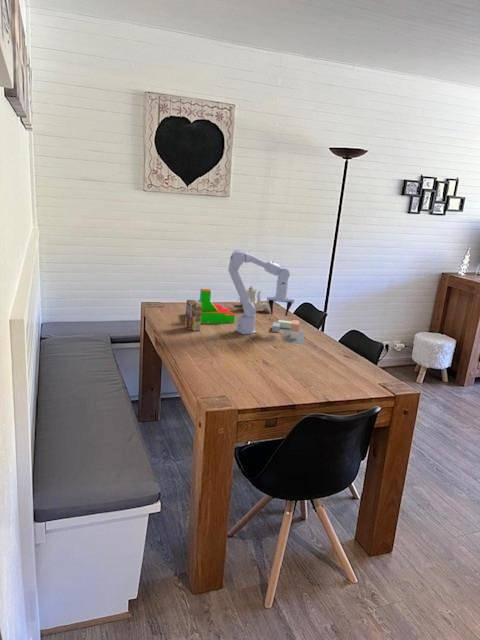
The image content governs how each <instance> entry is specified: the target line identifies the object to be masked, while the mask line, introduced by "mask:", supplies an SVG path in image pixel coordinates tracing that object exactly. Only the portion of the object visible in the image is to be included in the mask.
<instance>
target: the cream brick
mask: <svg viewBox="0 0 480 640" xmlns="http://www.w3.org/2000/svg"><path fill="white" fill-rule="evenodd" d="M290 331H291V330H290ZM299 332H300V331H299ZM299 332H293V331H291V332H290V339H298V333H299Z"/></svg>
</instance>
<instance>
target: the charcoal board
mask: <svg viewBox="0 0 480 640" xmlns="http://www.w3.org/2000/svg"><path fill="white" fill-rule="evenodd" d="M290 332H291V329H290V330H289V329H288V330H287V329H283V338H282V342H283V343H290V344H298V345H305V342H306V341H305V332H304V331H299V333H298V339H290Z"/></svg>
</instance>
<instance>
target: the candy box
mask: <svg viewBox="0 0 480 640" xmlns="http://www.w3.org/2000/svg"><path fill="white" fill-rule="evenodd" d="M201 310H202V303H201V302H198V300H196V299H193V298H192V299H191V298H190V299H186V307H185V322H184V325H185V326H186V327H188V328H190V329H192V330H194V331H193V332H196V331H195V330H200V331H201V324H202V323H201ZM185 326H184V327H185ZM186 327H185V328H186ZM188 328H187V329H188ZM190 329H189V330H190ZM192 330H191V331H192Z"/></svg>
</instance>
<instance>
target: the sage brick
mask: <svg viewBox="0 0 480 640" xmlns="http://www.w3.org/2000/svg"><path fill="white" fill-rule="evenodd" d="M277 323H280V329H281V328H283V329H288V330H289V329H290V330H291V323H292V320H283V319H279V320H278V321H277Z"/></svg>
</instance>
